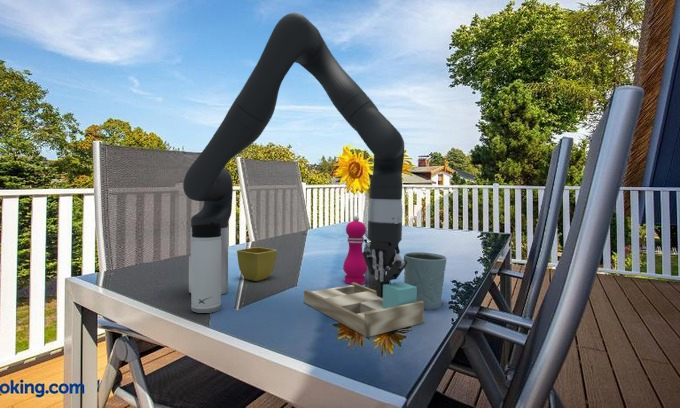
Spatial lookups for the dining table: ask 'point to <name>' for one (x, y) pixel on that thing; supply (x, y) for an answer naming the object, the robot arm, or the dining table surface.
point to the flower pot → (256, 262)
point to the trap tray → (364, 309)
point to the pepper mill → (355, 253)
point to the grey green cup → (426, 276)
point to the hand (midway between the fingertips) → (382, 296)
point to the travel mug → (206, 268)
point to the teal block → (398, 294)
